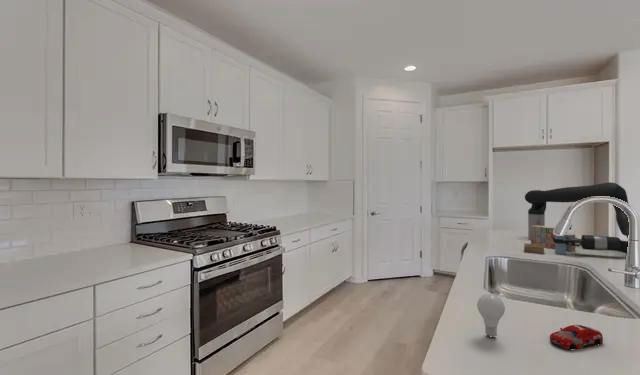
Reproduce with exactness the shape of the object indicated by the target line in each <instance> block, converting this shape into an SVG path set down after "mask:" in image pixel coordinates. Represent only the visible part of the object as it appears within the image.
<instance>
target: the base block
mask: <svg viewBox="0 0 640 375" xmlns="http://www.w3.org/2000/svg"><path fill="white" fill-rule="evenodd" d="M523 249H524V251H523V252H524V254H533V255H534V254H536V255H537V254H538V255H545V248H544V245H540V244H531V243H524V244H523Z"/></svg>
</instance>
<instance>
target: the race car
mask: <svg viewBox="0 0 640 375" xmlns="http://www.w3.org/2000/svg"><path fill="white" fill-rule="evenodd" d="M549 341H550V343H551V344H553V345H554V346H556V347H559V348H562V349H566V350H568V349H570V350H571V349H575V350H576V348H579V349H582V348H581V347H584V348H587V347H586V346H589V347H593V345H597V346H599V345H601V344H603V342H604V336H603V334H602V332H601V331H600V330H598V329H595V328H592V327H590V326H586V325H581V324H571V325H567V326H565V327H560V328H559V330H557V331H555V332H551V334H550V335H549ZM598 344H599V345H598ZM570 350H569V351H570Z"/></svg>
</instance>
